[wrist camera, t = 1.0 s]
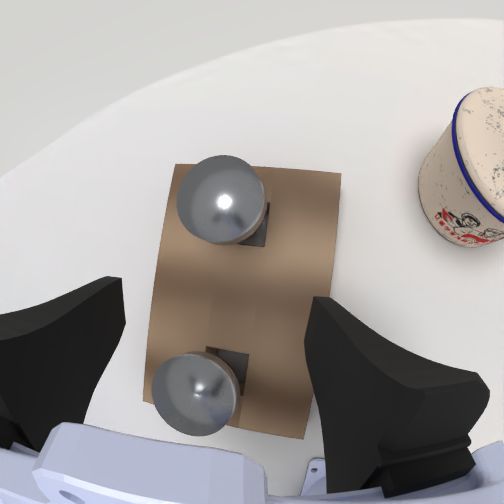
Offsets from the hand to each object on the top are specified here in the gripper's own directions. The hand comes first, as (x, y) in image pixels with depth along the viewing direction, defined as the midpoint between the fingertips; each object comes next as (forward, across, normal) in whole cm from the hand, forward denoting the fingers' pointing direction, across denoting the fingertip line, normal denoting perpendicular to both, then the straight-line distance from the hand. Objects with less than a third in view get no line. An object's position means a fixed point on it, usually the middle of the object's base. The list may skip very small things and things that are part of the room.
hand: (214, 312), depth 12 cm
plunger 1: (+9, -1, -1) cm, 9 cm away
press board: (+11, -2, +5) cm, 12 cm away
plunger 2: (+5, 0, +8) cm, 9 cm away
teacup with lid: (+11, -20, -5) cm, 23 cm away
